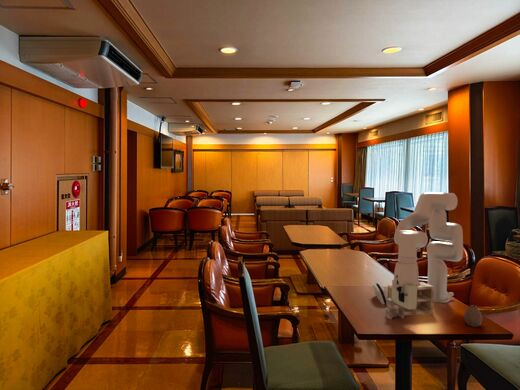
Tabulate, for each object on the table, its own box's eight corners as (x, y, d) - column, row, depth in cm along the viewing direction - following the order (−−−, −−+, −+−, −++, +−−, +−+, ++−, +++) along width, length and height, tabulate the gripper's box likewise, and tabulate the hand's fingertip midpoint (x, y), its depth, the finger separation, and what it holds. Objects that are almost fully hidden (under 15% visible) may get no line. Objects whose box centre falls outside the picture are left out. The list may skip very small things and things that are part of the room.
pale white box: (398, 300, 177) (399, 279, 177) (416, 308, 166) (417, 286, 166) (390, 301, 176) (390, 279, 176) (407, 309, 164) (407, 286, 164)
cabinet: (421, 307, 193) (422, 282, 192) (437, 315, 182) (438, 288, 181) (376, 311, 185) (376, 284, 185) (390, 319, 174) (391, 291, 174)
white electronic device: (392, 305, 195) (386, 286, 195) (383, 308, 196) (377, 289, 196) (385, 296, 212) (379, 278, 212) (376, 298, 212) (371, 281, 212)
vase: (481, 329, 165) (482, 309, 164) (463, 325, 168) (464, 306, 168) (482, 324, 170) (482, 305, 170) (464, 321, 174) (465, 302, 174)
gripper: (417, 258, 175) (416, 297, 176) (385, 259, 170) (384, 299, 171) (428, 261, 168) (427, 302, 168) (396, 262, 163) (394, 304, 164)
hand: (405, 300), depth 170 cm, fingers closed on pale white box, 4 cm apart
